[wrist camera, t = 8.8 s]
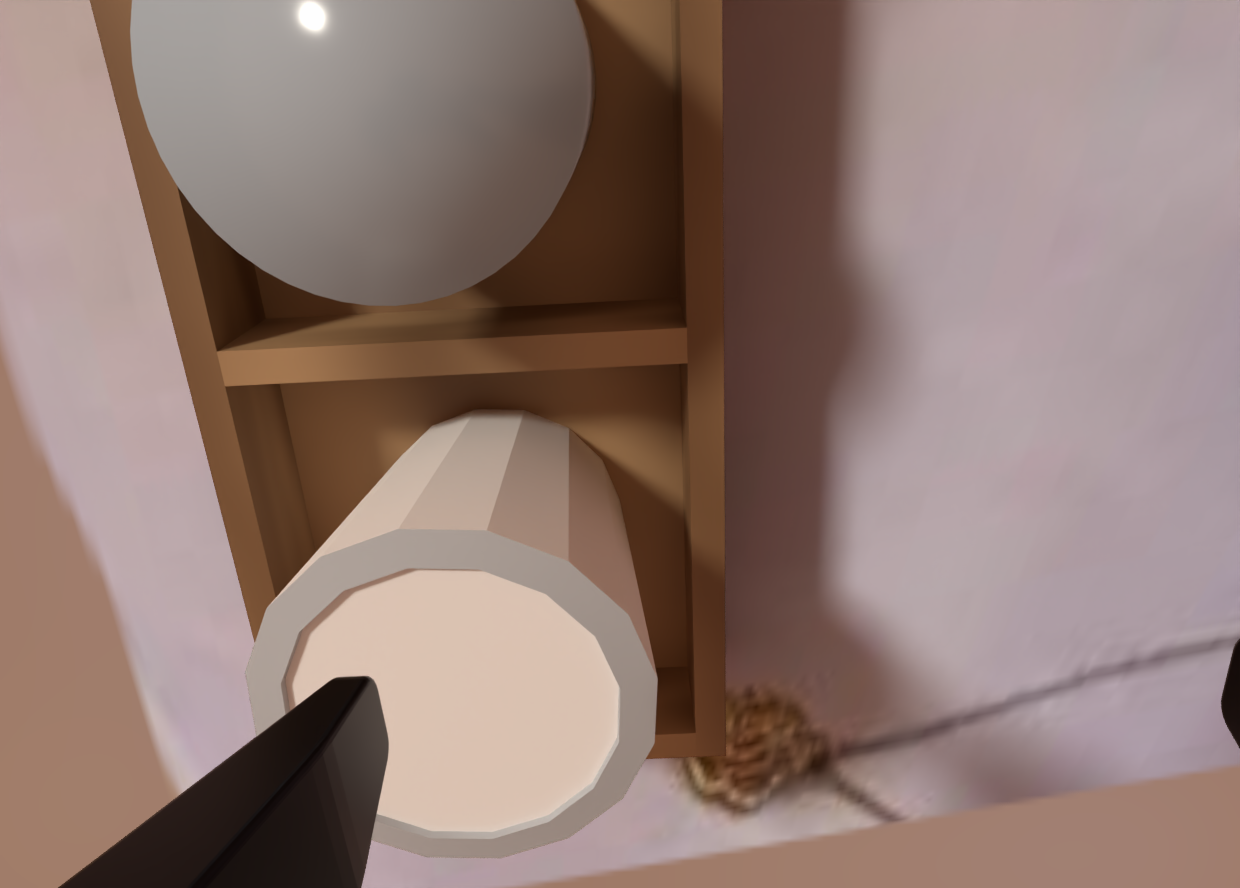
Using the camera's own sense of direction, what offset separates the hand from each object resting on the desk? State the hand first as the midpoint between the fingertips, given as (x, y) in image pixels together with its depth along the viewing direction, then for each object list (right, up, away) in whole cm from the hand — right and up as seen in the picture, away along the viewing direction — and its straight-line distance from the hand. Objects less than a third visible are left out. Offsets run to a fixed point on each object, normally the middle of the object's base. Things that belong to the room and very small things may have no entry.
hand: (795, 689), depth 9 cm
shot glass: (-5, +1, +12) cm, 13 cm away
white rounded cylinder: (-5, +10, +8) cm, 14 cm away
